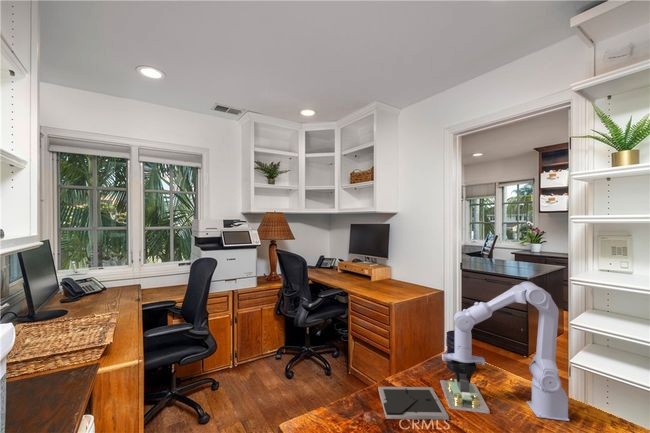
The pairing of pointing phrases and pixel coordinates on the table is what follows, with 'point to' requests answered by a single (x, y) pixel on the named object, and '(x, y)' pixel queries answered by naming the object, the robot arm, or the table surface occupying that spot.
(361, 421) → the table surface
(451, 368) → the storage jar
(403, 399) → the picture frame
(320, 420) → the table surface
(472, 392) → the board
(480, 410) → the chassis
